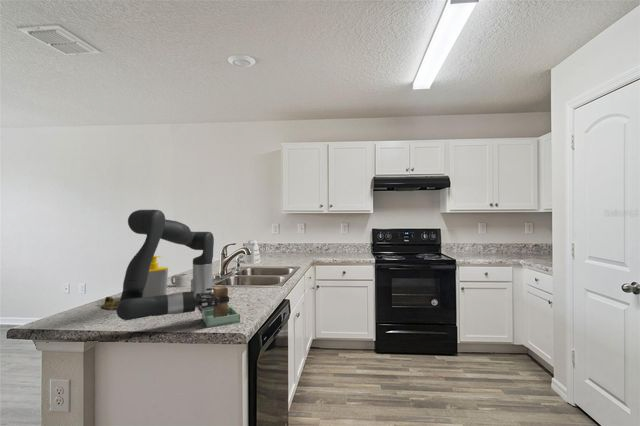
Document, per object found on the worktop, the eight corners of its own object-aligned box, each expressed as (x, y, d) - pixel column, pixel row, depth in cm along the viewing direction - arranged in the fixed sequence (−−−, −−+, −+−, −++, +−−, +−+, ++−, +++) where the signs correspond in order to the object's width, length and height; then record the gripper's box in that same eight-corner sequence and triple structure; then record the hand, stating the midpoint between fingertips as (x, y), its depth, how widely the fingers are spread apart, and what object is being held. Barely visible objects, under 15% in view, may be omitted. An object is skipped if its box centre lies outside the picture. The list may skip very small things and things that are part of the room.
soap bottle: (170, 298, 158) (170, 256, 158) (140, 302, 150) (140, 258, 151) (165, 293, 168) (166, 253, 169) (137, 297, 161) (137, 255, 161)
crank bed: (204, 314, 131) (204, 295, 131) (198, 305, 145) (198, 288, 145) (231, 310, 137) (231, 292, 137) (222, 302, 151) (222, 285, 151)
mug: (189, 285, 191) (189, 274, 191) (182, 287, 184) (182, 276, 184) (175, 284, 193) (175, 273, 193) (167, 286, 186) (167, 275, 186)
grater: (254, 263, 279) (254, 241, 279) (244, 263, 283) (244, 240, 283) (260, 262, 289) (260, 240, 289) (250, 261, 293) (250, 240, 293)
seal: (135, 309, 145) (114, 305, 151) (136, 298, 146) (115, 295, 152) (115, 312, 137) (93, 307, 143) (116, 301, 137) (95, 297, 143)
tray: (207, 327, 116) (207, 319, 116) (201, 318, 126) (201, 311, 126) (240, 322, 122) (240, 314, 122) (232, 314, 132) (232, 306, 132)
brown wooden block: (215, 320, 121) (215, 289, 121) (213, 317, 125) (213, 287, 125) (227, 319, 123) (227, 288, 123) (225, 315, 127) (225, 285, 127)
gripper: (183, 296, 111) (231, 291, 119) (178, 288, 123) (222, 284, 132) (183, 318, 111) (231, 311, 119) (178, 308, 123) (222, 302, 132)
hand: (226, 297), depth 125 cm, fingers open, 6 cm apart
